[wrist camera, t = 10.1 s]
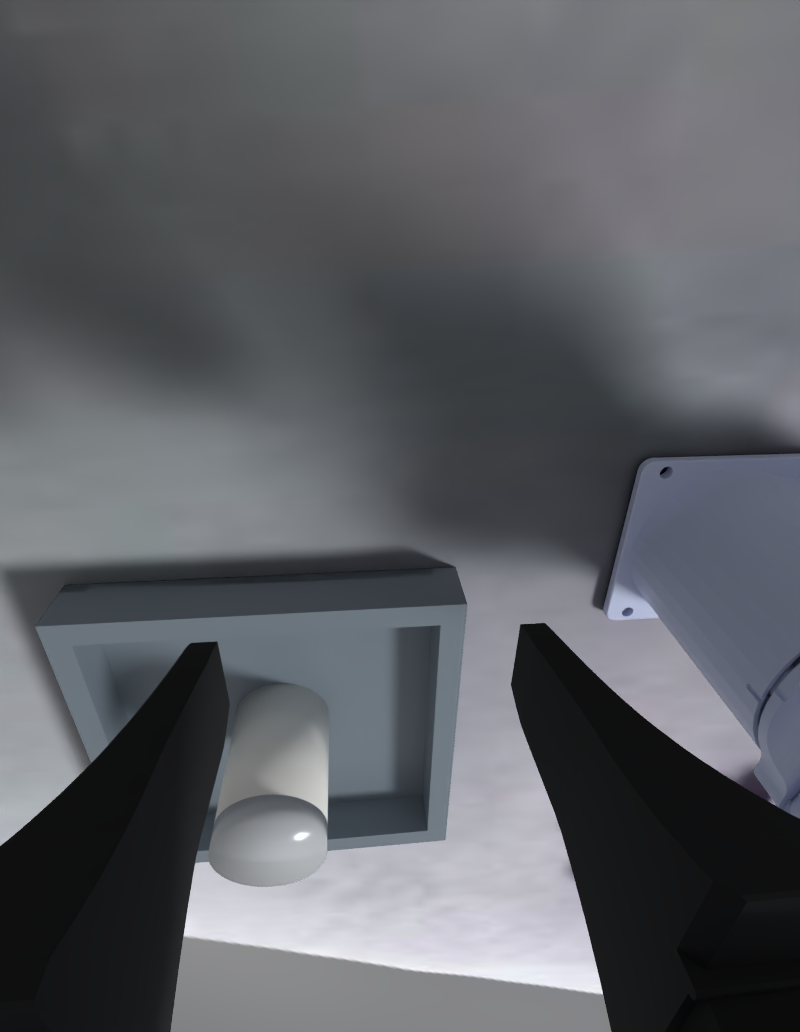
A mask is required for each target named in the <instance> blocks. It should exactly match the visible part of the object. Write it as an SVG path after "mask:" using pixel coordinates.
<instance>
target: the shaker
mask: <svg viewBox="0 0 800 1032" xmlns="http://www.w3.org/2000/svg"><path fill="white" fill-rule="evenodd" d="M328 766H329V709H328V706H327V704H326V702H325V701H324V700H323V698H322V697H321V696H320V695H318V694H317V693H316V692H314V691H312V690H310V689H308V688H306V687H303V686H299V685H295V684H286V683H283V684H271V685H267V686H263V687H260V688H258V689H256V690H254V691H252V692H250V693H249V694H248V695H246V696H245V697H244V698H243V699H242V701H241V702H240V703H239V705H238V708H237V711H236V716H235V721H234V726H233V731H232V736H231V741H230V746H229V751H228V756H227V761H226V766H225V771H224V776H223V782H222V787H221V792H220V797H219V802H218V807H217V812H216V817H215V822H214V827H213V832H212V837H211V842H210V847H209V853H208V858H209V862H210V864H211V866H212V868H213V869H214V870H215V871H216V872H217V873H218V874H220V875H221V876H222V877H224V878H226V879H228V880H230V881H233V882H236V883H239V884H243V885H249V886H258V887H271V886H280V885H286V884H290V883H294V882H297V881H299V880H302V879H304V878H306V877H308V876H310V875H311V874H313V873H314V872H316V871H317V870H318V869H319V868H320V867H321V866H322V864H323V863H324V861H325V859H326V856H327V825H328Z"/></svg>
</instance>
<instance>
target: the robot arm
mask: <svg viewBox="0 0 800 1032" xmlns="http://www.w3.org/2000/svg"><path fill="white" fill-rule="evenodd" d="M665 467H668V469H667V471H666V472H665V473H663V474H660V472H661V470H662V469H663V468H665ZM628 607H629V608H628ZM625 608H628V609H626V610H624V609H625ZM623 610H624V611H623ZM603 612H604V613H605V615H606V617H607V618H608V619H610V620H630V619H648V618H660V619H661V620H662V622H663V623H664V624H665V626H666V627H667V628H668V630H669V631H670V632H671V634H672V635H673V636H674V637H675V639H676V640H677V641H678V643H679V644H680V645H681V647H682V648H683V649H684V651H685V652H686V653H687V654H688V656H689V657H690V658H691V660H692V661H693V662H694V664H695V665H696V666H697V668H698V669H699V670H700V671H701V673H702V674H703V675H704V677H705V678H706V679H707V681H708V682H709V683H710V685H711V686H712V687H713V688H714V690H715V691H716V692H717V694H718V695H719V696H720V698H721V699H722V700H723V702H724V703H725V704H726V705H727V707H728V708H729V709H730V711H731V712H732V713H733V715H734V716H735V717H736V719H737V720H738V721H739V722H740V724H741V725H742V726H743V728H744V729H745V730H746V732H747V733H748V734H749V735H750V737H751V738H752V739H753V741H754V742H755V743H756V745H757V746H758V747H759V749H760V750H761V759H760V761H759V763H758V765H757V766H756V768H755V769H754V772H753V773H754V774H755V776H756V777H757V779H758V780H759V781H760V783H761V784H762V785H763V787H764V788H765V790H766V791H767V792H768V794H769V795H770V797H771V798H772V799H773V801H774V802H775V804H776V806H775V805H773V804H771V803H770V802H768V801H766V800H764V799H763V798H761V797H759V796H757V795H756V794H754V793H752V792H750V791H749V790H747V789H745V788H744V787H742V786H741V785H739V784H737V783H736V782H734V781H732V780H731V779H729V778H727V777H726V776H724V775H723V774H721V773H720V772H718V771H717V770H715V769H714V768H712V767H711V766H709V765H708V764H706V763H705V762H703V761H702V760H700V759H698V758H697V757H696V756H694V755H693V754H691V753H690V752H688V751H687V750H686V749H684V748H683V747H681V746H680V745H679V744H677V743H676V742H675V741H673V740H672V739H671V738H669V737H668V736H667V735H665V734H664V733H663V732H661V731H660V730H659V729H657V728H656V727H655V726H654V725H652V724H651V723H650V722H649V721H647V720H646V719H645V718H644V717H642V716H641V715H640V714H639V713H638V712H637V711H635V710H634V709H633V708H632V707H631V706H630V705H628V704H627V703H626V702H625V701H624V700H623V699H621V698H620V697H619V696H618V695H617V694H616V693H615V692H614V691H613V690H612V689H611V688H610V687H608V686H607V685H606V684H605V683H604V682H603V681H602V680H601V679H600V678H599V677H598V676H597V675H596V674H595V673H594V672H593V671H592V670H591V669H590V668H589V667H588V666H587V665H586V664H585V663H584V662H583V661H582V660H581V659H580V658H579V657H578V656H577V655H576V654H575V653H574V652H573V651H572V650H571V649H570V648H569V647H568V646H567V645H566V644H565V643H564V642H563V641H562V640H561V639H560V638H559V637H558V636H557V635H556V634H555V633H554V632H553V631H552V630H551V629H550V628H549V627H548V626H547V625H546V624H545V623H537V624H521V625H520V631H519V638H518V644H517V650H516V657H515V663H514V669H513V676H512V682H511V687H512V691H513V695H514V699H515V703H516V708H517V711H518V715H519V719H520V723H521V726H522V729H523V731H524V734H525V737H526V739H527V742H528V745H529V747H530V750H531V752H532V755H533V758H534V760H535V763H536V765H537V768H538V771H539V773H540V776H541V778H542V781H543V783H544V786H545V789H546V791H547V794H548V796H549V799H550V801H551V804H552V807H553V809H554V812H555V815H556V818H557V821H558V823H559V826H560V829H561V832H562V836H563V839H564V843H565V846H566V850H567V853H568V857H569V860H570V864H571V867H572V871H573V875H574V878H575V882H576V886H577V890H578V893H579V897H580V901H581V905H582V909H583V912H584V916H585V920H586V924H587V928H588V932H589V936H590V940H591V944H592V949H593V953H594V957H595V961H596V965H597V969H598V973H599V977H600V982H601V986H602V991H603V995H604V1000H605V1004H606V1009H607V1013H608V1018H609V1022H610V1027H611V1031H612V1032H800V454H768V455H733V456H698V457H663V458H650V459H647V460H645V461H643V463H642V464H641V465H640V466H639V468H638V471H637V475H636V479H635V483H634V487H633V491H632V495H631V499H630V503H629V507H628V511H627V515H626V519H625V523H624V527H623V531H622V535H621V539H620V543H619V547H618V551H617V555H616V559H615V563H614V568H613V572H612V576H611V580H610V584H609V588H608V592H607V596H606V600H605V604H604V608H603ZM229 707H230V701H229V696H228V691H227V686H226V681H225V676H224V671H223V666H222V662H221V657H220V652H219V647H218V642H217V641H215V642H197V643H190V644H189V645H188V646H187V647H186V648H185V649H184V651H183V652H182V654H181V655H180V656H179V658H178V659H177V660H176V662H175V663H174V665H173V666H172V667H171V669H170V670H169V671H168V673H167V674H166V675H165V677H164V678H163V679H162V681H161V682H160V683H159V685H158V686H157V687H156V688H155V690H154V691H153V692H152V694H151V695H150V696H149V697H148V698H147V700H146V701H145V702H144V703H143V705H142V706H141V707H140V708H139V710H138V711H137V712H136V713H135V715H134V716H133V717H132V718H131V719H130V721H129V722H128V723H127V724H126V725H125V726H124V728H123V729H122V730H121V731H120V732H119V733H118V734H117V735H116V737H115V738H114V739H113V740H112V741H111V742H110V743H109V744H108V746H107V747H106V748H105V749H104V750H103V751H102V752H101V753H100V754H99V756H98V757H97V758H96V759H95V760H94V761H93V762H92V763H91V764H90V765H89V766H88V767H87V768H86V769H85V770H84V771H83V772H82V773H81V774H80V775H79V776H78V777H77V778H76V779H75V780H74V781H73V782H72V783H71V784H70V785H69V786H68V787H67V788H66V789H65V790H64V791H63V792H62V793H61V794H60V795H59V796H57V797H56V798H55V799H54V800H53V801H52V802H51V803H50V804H49V805H48V806H46V807H45V808H44V809H43V810H42V811H41V812H40V813H39V814H38V815H37V816H35V817H34V818H33V819H32V820H31V821H30V822H29V823H27V824H26V825H25V826H24V827H23V828H22V829H21V830H19V831H18V832H17V833H16V834H15V835H14V836H12V837H11V838H10V839H9V840H7V841H6V842H5V843H4V844H2V845H1V846H0V1032H170V1030H171V1022H172V1014H173V1007H174V999H175V992H176V984H177V976H178V969H179V961H180V955H181V948H182V941H183V935H184V928H185V921H186V914H187V908H188V902H189V896H190V890H191V883H192V877H193V871H194V865H195V861H196V856H197V851H198V847H199V842H200V839H201V835H202V831H203V827H204V823H205V819H206V815H207V812H208V808H209V804H210V800H211V796H212V792H213V788H214V785H215V781H216V777H217V773H218V769H219V765H220V761H221V757H222V753H223V749H224V744H225V737H226V730H227V723H228V715H229Z"/></svg>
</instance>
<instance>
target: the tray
mask: <svg viewBox="0 0 800 1032" xmlns="http://www.w3.org/2000/svg"><path fill="white" fill-rule="evenodd" d="M466 612H467V602H466V599H465V596H464V593H463V589H462V586H461V583H460V580H459V577H458V574H457V571H456V567H451V568H430V569H408V570H386V571H364V572H342V573H321V574H299V575H277V576H255V577H233V578H212V579H190V580H168V581H146V582H125V583H103V584H81V585H64V587H63V588H62V589H61V591H60V592H59V594H58V595H57V596H56V598H55V599H54V601H53V602H52V603H51V605H50V606H49V608H48V609H47V611H46V612H45V613H44V615H43V616H42V618H41V619H40V620H39V622H38V623H37V625H36V626H35V628H36V630H37V633H38V635H39V637H40V640H41V642H42V645H43V647H44V650H45V652H46V655H47V657H48V659H49V662H50V664H51V667H52V669H53V672H54V674H55V676H56V679H57V681H58V684H59V686H60V689H61V691H62V693H63V696H64V698H65V701H66V703H67V706H68V708H69V710H70V713H71V715H72V718H73V720H74V723H75V725H76V727H77V730H78V732H79V735H80V737H81V740H82V742H83V744H84V747H85V749H86V752H87V754H88V757H89V759H90V761H91V763H92V762H93V761H94V760H95V759H96V758H97V757H98V756H99V754H100V753H101V752H102V751H103V750H104V749H105V748H106V747H107V746H108V744H109V743H110V742H111V741H112V740H113V739H114V738H115V737H116V735H117V734H118V733H119V732H120V731H121V730H122V729H123V728H124V726H125V725H126V724H127V723H128V722H129V721H130V719H131V718H132V717H133V716H134V715H135V713H136V712H137V711H138V710H139V708H140V707H141V706H142V705H143V703H144V702H145V701H146V700H147V698H148V697H149V696H150V695H151V694H152V692H153V691H154V690H155V688H156V687H157V686H158V685H159V683H160V682H161V681H162V679H163V678H164V677H165V675H166V674H167V673H168V671H169V670H170V669H171V667H172V666H173V665H174V663H175V662H176V660H177V659H178V658H179V656H180V655H181V654H182V652H183V651H184V649H185V648H186V647H187V646H188V645H189V644H190V643H197V642H215V641H217V642H218V647H219V652H220V657H221V662H222V666H223V671H224V676H225V681H226V686H227V691H228V696H229V701H230V707H229V715H228V723H227V730H226V737H225V744H224V749H223V753H222V757H221V761H220V765H219V769H218V773H217V777H216V781H215V785H214V788H213V792H212V796H211V800H210V804H209V808H208V812H207V815H206V819H205V823H204V827H203V831H202V835H201V839H200V842H199V847H198V851H197V856H196V861H195V863H198V862H209V858H208V853H209V847H210V842H211V837H212V832H213V827H214V822H215V817H216V812H217V807H218V802H219V797H220V792H221V787H222V782H223V776H224V771H225V766H226V761H227V756H228V751H229V746H230V741H231V736H232V731H233V726H234V721H235V716H236V711H237V708H238V705H239V703H240V702H241V701H242V699H243V698H244V697H245V696H246V695H248V694H249V693H250V692H252V691H254V690H256V689H258V688H260V687H263V686H267V685H271V684H283V683H286V684H295V685H299V686H303V687H306V688H308V689H310V690H312V691H314V692H316V693H317V694H318V695H320V696H321V697H322V698H323V700H324V701H325V702H326V704H327V706H328V709H329V766H328V825H327V851H331V850H342V849H353V848H364V847H375V846H386V845H397V844H408V843H419V842H430V841H441V840H445V838H446V827H447V816H448V806H449V795H450V784H451V773H452V762H453V752H454V741H455V730H456V719H457V709H458V698H459V687H460V676H461V666H462V655H463V644H464V633H465V622H466Z"/></svg>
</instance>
